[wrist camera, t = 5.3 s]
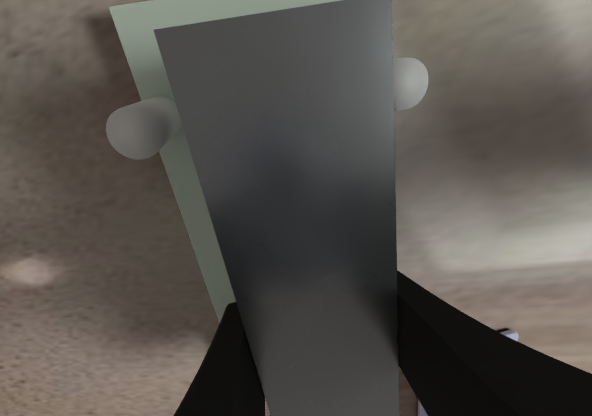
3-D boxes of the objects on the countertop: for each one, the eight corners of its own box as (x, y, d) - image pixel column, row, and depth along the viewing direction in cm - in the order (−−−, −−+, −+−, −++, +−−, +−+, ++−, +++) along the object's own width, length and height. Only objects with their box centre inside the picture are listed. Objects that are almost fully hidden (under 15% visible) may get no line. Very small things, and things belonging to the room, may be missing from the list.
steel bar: (357, 370, 17) (400, 483, 12) (283, 389, 16) (299, 511, 12) (323, 28, 10) (391, -8, 5) (195, 48, 9) (153, 29, 5)
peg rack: (379, 320, 22) (419, 394, 17) (235, 355, 21) (234, 443, 16) (362, -23, 13) (432, -77, 8) (120, 13, 13) (40, -23, 8)
